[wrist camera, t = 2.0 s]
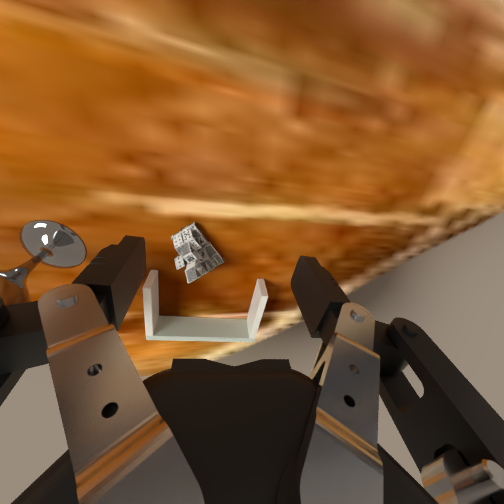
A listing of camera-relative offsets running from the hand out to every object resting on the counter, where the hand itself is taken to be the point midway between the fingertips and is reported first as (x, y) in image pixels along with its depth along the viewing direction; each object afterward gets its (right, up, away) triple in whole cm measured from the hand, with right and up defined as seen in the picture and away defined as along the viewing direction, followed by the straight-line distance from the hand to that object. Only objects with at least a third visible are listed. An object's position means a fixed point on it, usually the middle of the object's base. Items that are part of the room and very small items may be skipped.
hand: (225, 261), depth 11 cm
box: (-6, -8, +25) cm, 26 cm away
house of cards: (-8, +1, +20) cm, 21 cm away
